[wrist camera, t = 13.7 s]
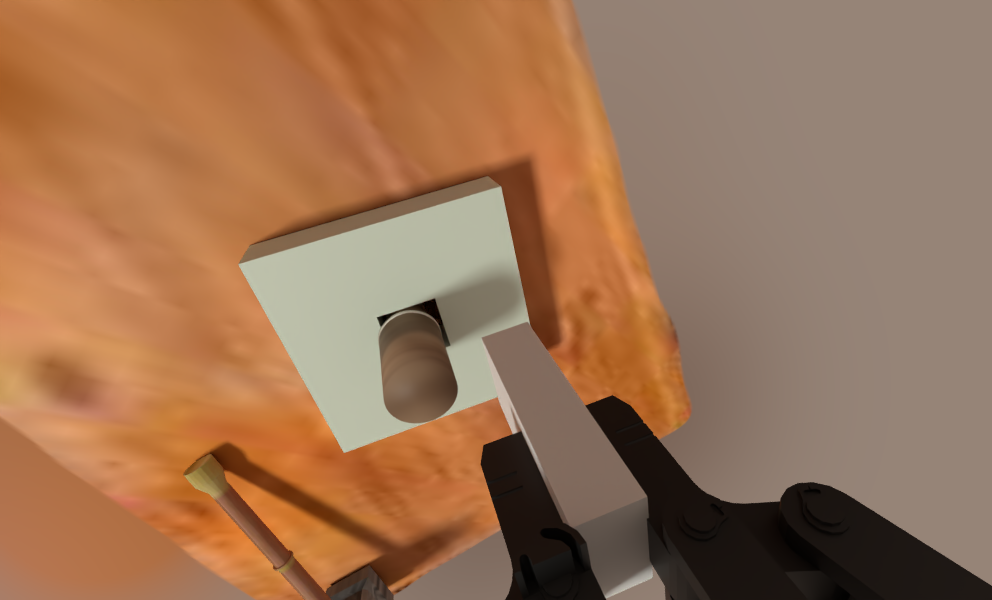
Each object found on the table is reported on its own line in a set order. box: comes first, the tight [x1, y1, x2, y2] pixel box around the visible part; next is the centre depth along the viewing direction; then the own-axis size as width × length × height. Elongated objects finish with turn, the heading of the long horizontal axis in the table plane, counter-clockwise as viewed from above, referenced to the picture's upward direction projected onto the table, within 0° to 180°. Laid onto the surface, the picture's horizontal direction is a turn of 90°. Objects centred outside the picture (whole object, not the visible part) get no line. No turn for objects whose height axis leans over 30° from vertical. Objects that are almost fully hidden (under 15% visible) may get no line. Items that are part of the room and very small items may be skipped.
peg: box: [378, 303, 458, 423], centre depth 37 cm, size 5×5×12 cm
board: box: [238, 176, 530, 453], centre depth 40 cm, size 20×20×4 cm
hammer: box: [183, 454, 393, 600], centre depth 45 cm, size 6×16×30 cm
